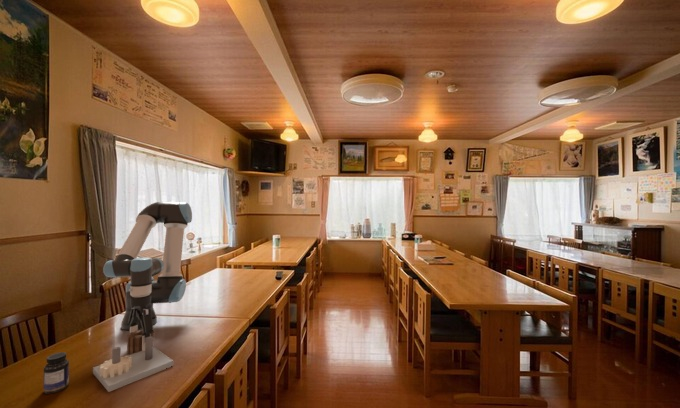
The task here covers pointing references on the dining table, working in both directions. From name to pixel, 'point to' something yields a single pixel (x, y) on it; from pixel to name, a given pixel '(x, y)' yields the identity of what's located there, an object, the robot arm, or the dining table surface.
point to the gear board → (131, 366)
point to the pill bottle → (56, 373)
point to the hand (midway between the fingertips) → (139, 345)
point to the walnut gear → (135, 342)
